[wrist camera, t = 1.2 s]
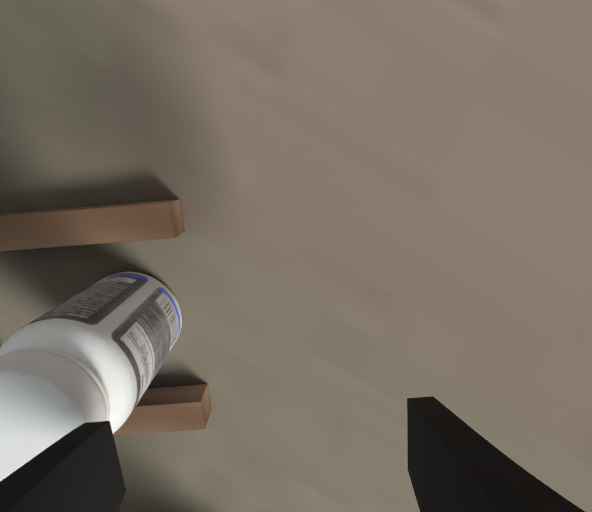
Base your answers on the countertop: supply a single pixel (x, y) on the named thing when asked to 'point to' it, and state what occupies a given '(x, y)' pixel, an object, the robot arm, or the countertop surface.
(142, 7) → the countertop surface
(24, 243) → the gauge rails
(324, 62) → the countertop surface
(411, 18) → the countertop surface
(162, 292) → the pill bottle
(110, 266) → the countertop surface
